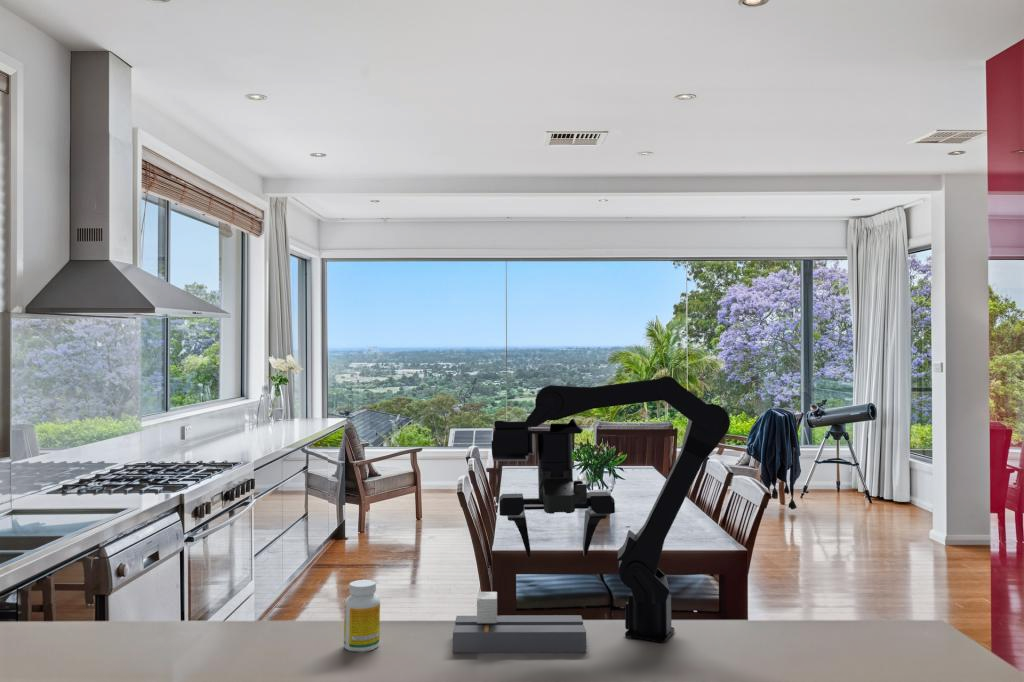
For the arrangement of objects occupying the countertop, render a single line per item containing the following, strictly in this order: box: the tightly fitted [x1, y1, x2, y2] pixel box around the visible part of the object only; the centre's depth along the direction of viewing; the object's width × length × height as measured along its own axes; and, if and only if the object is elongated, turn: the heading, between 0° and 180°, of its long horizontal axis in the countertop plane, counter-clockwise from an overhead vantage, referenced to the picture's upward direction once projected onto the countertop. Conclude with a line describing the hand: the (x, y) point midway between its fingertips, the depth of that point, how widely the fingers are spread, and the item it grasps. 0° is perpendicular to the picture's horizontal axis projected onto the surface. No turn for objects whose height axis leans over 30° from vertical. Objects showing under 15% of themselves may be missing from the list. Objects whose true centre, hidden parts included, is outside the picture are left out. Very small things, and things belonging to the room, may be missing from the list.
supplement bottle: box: [343, 579, 381, 653], centre depth 114 cm, size 5×5×10 cm
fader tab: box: [476, 591, 498, 625], centre depth 116 cm, size 3×4×6 cm
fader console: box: [452, 614, 587, 654], centre depth 116 cm, size 20×8×3 cm, turn 90°
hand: (557, 556), depth 122 cm, fingers open, 9 cm apart
